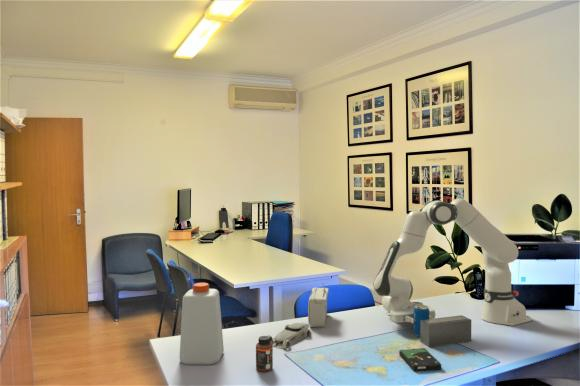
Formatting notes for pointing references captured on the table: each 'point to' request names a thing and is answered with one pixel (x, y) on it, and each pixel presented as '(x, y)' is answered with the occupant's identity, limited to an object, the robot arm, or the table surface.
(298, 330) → the car model
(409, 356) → the disk drive
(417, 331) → the beverage can
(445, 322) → the box
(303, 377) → the table surface
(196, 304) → the plastic bottle
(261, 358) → the supplement bottle
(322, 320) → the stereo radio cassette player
